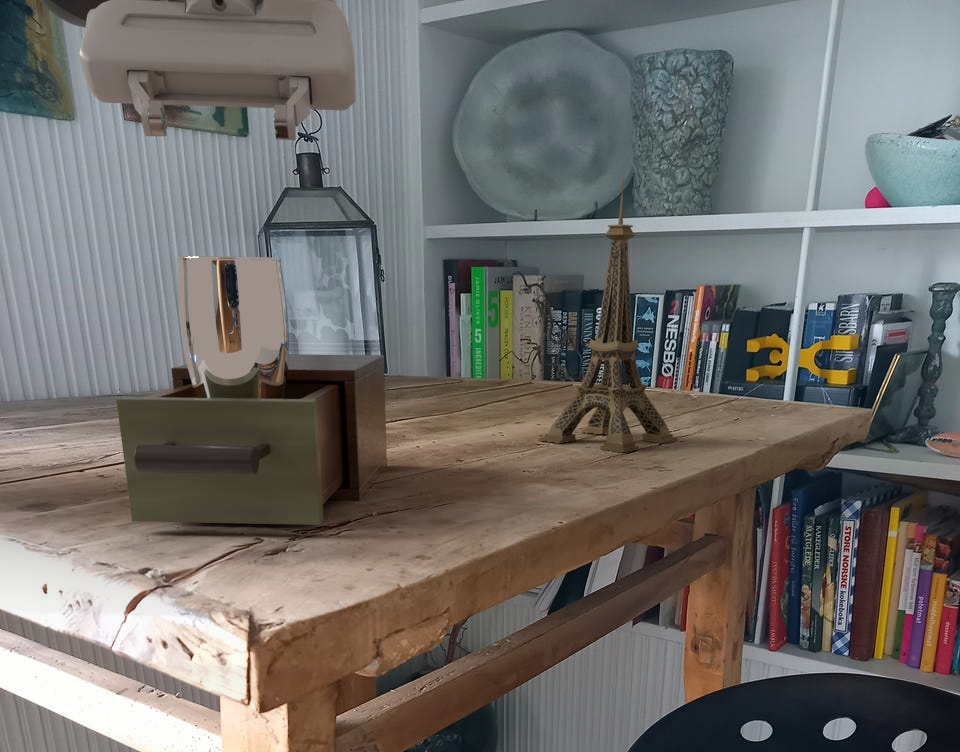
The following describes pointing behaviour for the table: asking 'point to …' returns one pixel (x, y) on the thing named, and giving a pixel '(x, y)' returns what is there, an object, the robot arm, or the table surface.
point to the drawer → (234, 455)
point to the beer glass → (234, 326)
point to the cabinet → (345, 410)
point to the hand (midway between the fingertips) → (219, 130)
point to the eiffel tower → (613, 366)
